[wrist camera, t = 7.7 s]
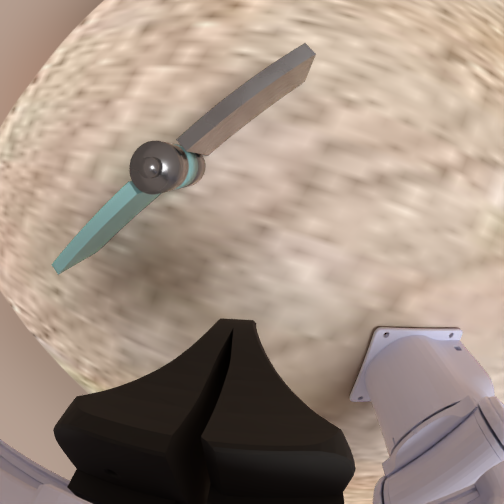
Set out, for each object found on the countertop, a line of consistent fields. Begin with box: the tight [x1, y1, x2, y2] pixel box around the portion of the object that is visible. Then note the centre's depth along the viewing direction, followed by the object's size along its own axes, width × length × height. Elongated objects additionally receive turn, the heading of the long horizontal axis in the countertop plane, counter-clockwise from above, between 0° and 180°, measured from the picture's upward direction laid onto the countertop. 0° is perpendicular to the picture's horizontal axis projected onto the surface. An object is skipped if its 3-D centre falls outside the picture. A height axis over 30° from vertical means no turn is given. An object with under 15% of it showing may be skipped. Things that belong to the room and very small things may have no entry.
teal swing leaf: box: [52, 144, 198, 275], centre depth 16 cm, size 11×3×5 cm, turn 125°
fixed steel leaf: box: [130, 43, 316, 195], centre depth 14 cm, size 11×3×6 cm, turn 129°
